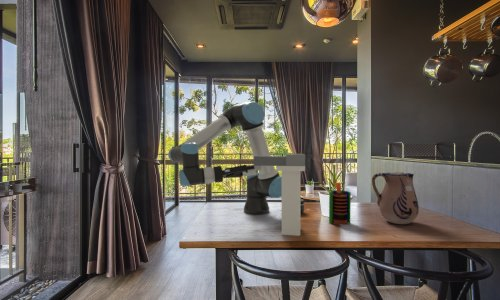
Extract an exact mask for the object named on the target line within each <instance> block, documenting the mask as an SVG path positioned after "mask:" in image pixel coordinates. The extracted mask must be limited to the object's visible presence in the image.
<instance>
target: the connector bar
mask: <svg viewBox="0 0 500 300" xmlns="http://www.w3.org/2000/svg"><path fill="white" fill-rule="evenodd" d="M253 165H254V166H274V167H276V166H305V167H306V154H304V153H286V154H285V156H283V155H282V156H279V155H278V156H276V155H275V156H274V155H273V156H272V155H270V156H254V155H253Z"/></svg>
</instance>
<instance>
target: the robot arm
mask: <svg viewBox="0 0 500 300" xmlns="http://www.w3.org/2000/svg"><path fill="white" fill-rule="evenodd" d="M265 115H266V114H265V109H264V107H263V106H262V105H261V104H260V103H258V102H257V101H246V102H242V103H238V104H234V105H233V106H231V107H230V108H228V109H226V110H225V111H223V113H221V114H219V115H218V118H216V119H215V120H214V121H213V122H211V123H210V124H208V125H207V126H205V127H204V128H202V129H201V130H199V131H198V132H197V133H195V134H194V135H192V136H191V137H190V138H188V139H187V140H185V141H183V142H182V143H181V144H178V146H175V147H172V148H171V149H169V150H168V153H167V154H168V156H167V157H168V159H169V160H170V161H171V162H173V163H175V164H176V163H177V164H182V169H180V170H179V171H178V179H179V185H180V186H182V187H189V186H190V187H192V186H199V185H205V184H207V185H208V186H209V185H210V184H213V183H216V184H217V183H222V182H223V181H224V179H229V178H230V179H232V178H234V179H235V178H241V177H246V200H245V203H244V206H243V212H244V213H245V212H246V213H245V214H249V213H251V215H262V214H263V213H265V214H268V213H269V212H270V206H269V203H268V200H267V197H270V198H274V199H275V198H277V199H278V198H280V197H282V176H281V175H280V173H279V172H280V171H276V168H275V166H254V164H250V165H249V164H248V165H247V164H242V165H237V166H231V167H225V168H224V169H223V167H222V166H221V165H217V166H213V167H212V166H205V167H200V157H199V156H200V155H199V154H200V153H199V150H201V149H203V147H205V146H207V145H208V144H209V143H210V142H212V141H214V140H215V139H216V138H217V137H219V136H221V135H222V134H223V133H224V132H226V131H230V130H232V129H234V128H236V127H239V126H240V127H241V130H242V132H244V133H245V134H246V136H247V139H248V142H249V145H250V148H251V151H252V154H253V157H254V156H271V153H270V151H269V150H270V149H269V147H268V144H267V141H266V138H265V134H264V131H263V126H264V120H265ZM256 171H258V172H256ZM263 215H264V214H263Z"/></svg>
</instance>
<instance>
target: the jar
mask: <svg viewBox="0 0 500 300" xmlns="http://www.w3.org/2000/svg"><path fill="white" fill-rule="evenodd" d="M304 212H305V199H302V198H301V215H303V214H304Z"/></svg>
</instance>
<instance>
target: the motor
mask: <svg viewBox="0 0 500 300" xmlns="http://www.w3.org/2000/svg"><path fill="white" fill-rule="evenodd" d="M341 186H342V185H341V183H340V182H334V187H335V188H336V190H329V192H328V193H329V196H328V197H329V198H328V201H329V203H328V204H329V205H328V207H329V209H328V210H329V211H328V215H329V216H328V219H329V220H328V223H329V224H331V225H337V226H347V225H348V224H349V225H350V224H351V200H352V199H351V192H350V191H347V190H342V187H341Z"/></svg>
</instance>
